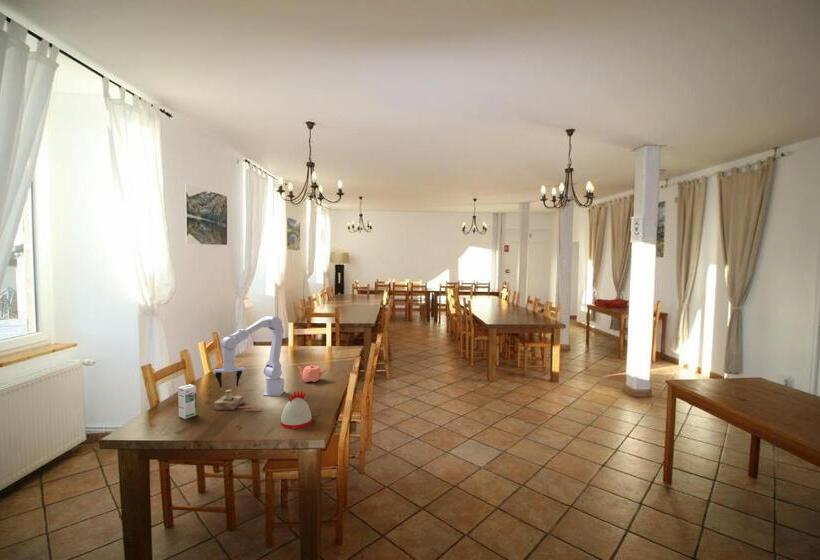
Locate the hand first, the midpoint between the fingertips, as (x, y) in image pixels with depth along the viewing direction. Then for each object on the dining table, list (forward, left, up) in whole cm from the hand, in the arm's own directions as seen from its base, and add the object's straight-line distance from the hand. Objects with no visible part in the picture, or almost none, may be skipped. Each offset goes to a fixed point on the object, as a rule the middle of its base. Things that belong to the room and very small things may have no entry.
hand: (229, 386), depth 201 cm
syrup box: (+13, +15, -10) cm, 22 cm away
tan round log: (0, +1, -10) cm, 10 cm away
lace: (-11, +5, -10) cm, 16 cm away
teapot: (-30, -43, -10) cm, 54 cm away
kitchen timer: (-41, +18, -10) cm, 46 cm away
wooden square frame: (0, +1, -10) cm, 10 cm away
